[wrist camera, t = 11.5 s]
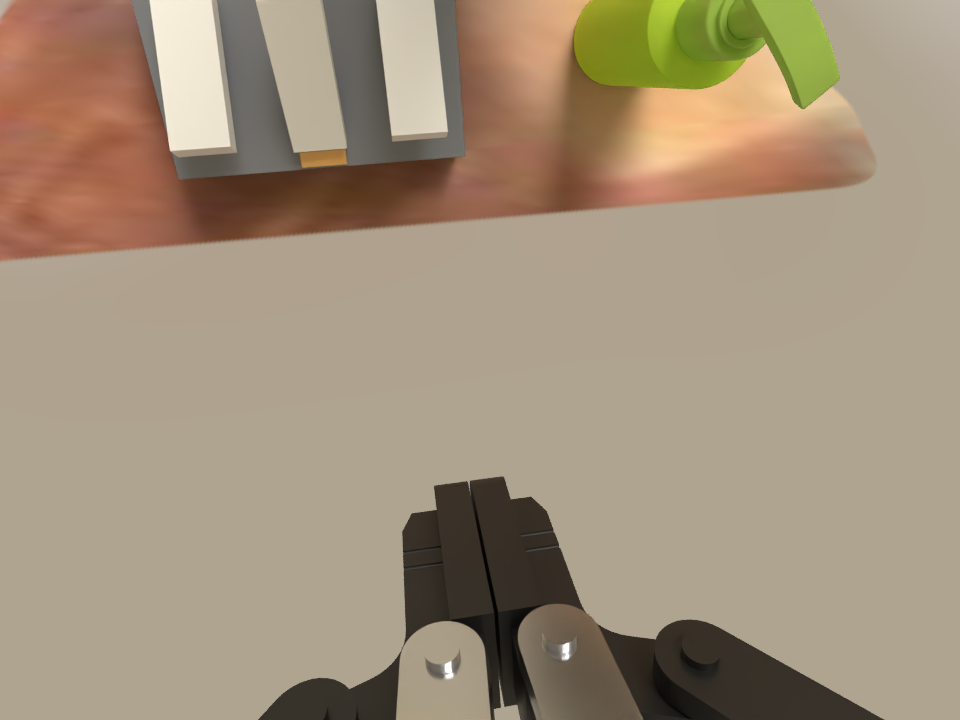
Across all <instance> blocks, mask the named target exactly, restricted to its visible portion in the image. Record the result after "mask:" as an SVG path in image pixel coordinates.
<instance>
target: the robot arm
mask: <svg viewBox="0 0 960 720" xmlns="http://www.w3.org/2000/svg"><path fill="white" fill-rule="evenodd" d="M434 490H435V499H436V507H437V510H434V511H427V512H420V513H413V514H411V516H410V518H409V520H408V522H407V524H406V526H405V528H404V530H403V532H402V534H403V560H404V561H403V563H404V588H405V589H404V590H405V618H406V638H405V642H404V645H403V648H402V650H401V652H400V654H399V655H398V657H397V658H396V659H395V661H394V662H393V663H392V664H391V665H390V666H389V667H388V668H387V669H386V670H384V671H383V672H382V673H380V674H379V675H377V676H375V677H374V678H372V679H370V680H368V681H366V682H364V683H362V684H359V685H357V686H355V687H353V688H351V689H348V688H347V687H346V686H345V685H344V684H342V683H341V682H338V681H336V680H333V679H328V678H317V679H311V680H307V681H304V682H301V683H299V684H297V685H295V686H293V687H292V688H290V689H289V690H287V691H286V692H285V693H283V694H282V695H281V696H280V697H279V698H278V699H277V700H276V701H275V702H274V703H273V704H272V705H271V706H270V707H269V709H268V710H267V711H266V712H265V713H264V714H263V715H262V716H261V717H260V718H259V719H258V720H495V718H494V709H496V708H500V707H501V704H500V690H499V680H500V685H501V691H502V696H503V701H504V706H505V707H506V706H511V705H518V710H519V715H520V719H521V720H884V719H882V718H880V717H878V716H876V715H874V714H873V713H871V712H869V711H867V710H866V709H864V708H862V707H860V706H859V705H857V704H855V703H853V702H851V701H850V700H848V699H846V698H844V697H842V696H841V695H839V694H837V693H835V692H833V691H832V690H830V689H828V688H826V687H824V686H823V685H821V684H819V683H817V682H815V681H814V680H812V679H810V678H808V677H806V676H805V675H803V674H801V673H799V672H797V671H796V670H794V669H792V668H790V667H788V666H787V665H785V664H783V663H781V662H779V661H778V660H776V659H774V658H772V657H771V656H769V655H767V654H765V653H763V652H762V651H760V650H758V649H756V648H755V647H753V646H751V645H749V644H747V643H746V642H744V641H742V640H740V639H738V638H736V637H735V636H733V635H731V634H729V633H728V632H726V631H724V630H722V629H720V628H719V627H716V626H714V625H712V624H709V623H707V622H703V621H698V620H681V621H676V622H673V623H671V624H669V625H667V626H666V627H664V628H663V629H662V630H661V631H660V632H659V634H658V636H657V638H656V640H655V639H648V638H640V637H632V636H625V635H620V634H617V633H614V632H611V631H609V630H607V629H605V628H603V627H601V626H600V625H598V624H597V623H596V622H595V621H594V620H593V618H592V617H591V616H589V615H588V614H587V613H586V612H585V611H584V609H583V607H582V605H581V603H580V600H579V598H578V595H577V593H576V590H575V587H574V584H573V581H572V579H571V576H570V573H569V571H568V568H567V565H566V562H565V560H564V557H563V554H562V552H561V549H560V548H559V543H558V541H557V538H556V535H555V533H554V532H553V527H552V525H551V522H550V519H549V516H548V514H547V511H546V510H545V509H544V508H543V507H542V506H540V505H539V504H538V503H537V502H536V501H535V500H534V499H533V498H532V497H526V498H519V499H512V500H511V499H510V496H509V492H508V489H507V486H506V482H505V479H504V477H495V478H488V479H480V480H473V481H470V491H469V486H468V482H467V481H466V482H459V483H451V484H444V485H436V486H434ZM470 494H471V496H470Z"/></svg>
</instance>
